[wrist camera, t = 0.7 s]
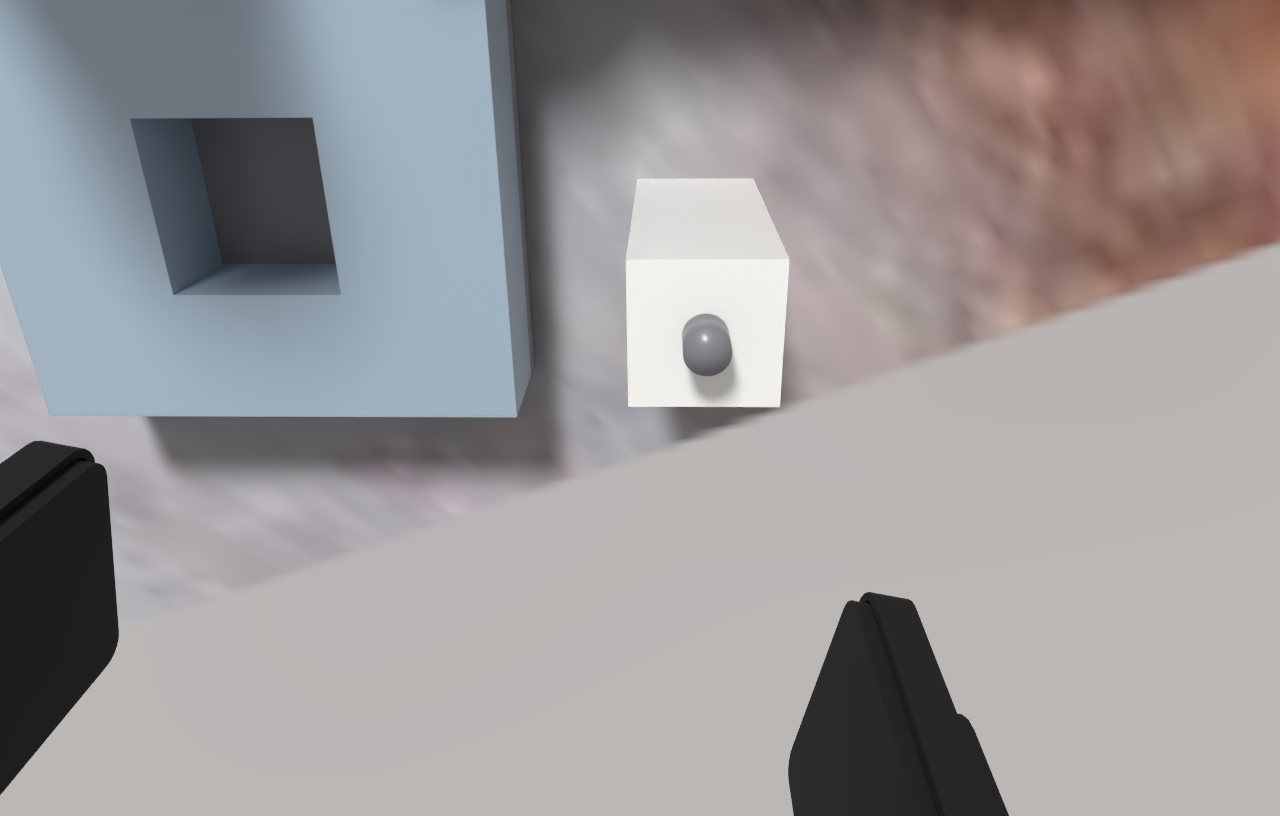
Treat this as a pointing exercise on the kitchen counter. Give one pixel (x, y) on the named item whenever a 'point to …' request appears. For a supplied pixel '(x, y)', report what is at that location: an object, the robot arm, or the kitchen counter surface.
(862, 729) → the robot arm
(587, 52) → the kitchen counter surface
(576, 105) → the kitchen counter surface
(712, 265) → the white square peg
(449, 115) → the socket plate
